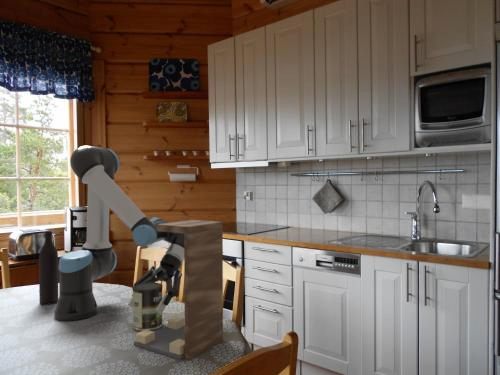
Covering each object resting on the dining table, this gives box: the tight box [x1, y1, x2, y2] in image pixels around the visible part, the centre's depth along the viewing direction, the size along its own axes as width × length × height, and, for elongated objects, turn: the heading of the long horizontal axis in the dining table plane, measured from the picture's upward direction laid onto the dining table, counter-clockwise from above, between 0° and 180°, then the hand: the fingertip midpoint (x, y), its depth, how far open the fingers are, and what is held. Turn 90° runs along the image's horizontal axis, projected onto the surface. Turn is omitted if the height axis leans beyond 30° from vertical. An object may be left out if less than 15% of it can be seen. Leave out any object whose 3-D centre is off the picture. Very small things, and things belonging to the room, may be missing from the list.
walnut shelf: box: [156, 219, 224, 360], centre depth 123 cm, size 13×16×38 cm
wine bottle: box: [38, 230, 59, 305], centre depth 165 cm, size 7×7×30 cm
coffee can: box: [132, 282, 164, 332], centre depth 139 cm, size 10×10×14 cm
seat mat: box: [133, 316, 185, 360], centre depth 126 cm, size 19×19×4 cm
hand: (143, 309), depth 137 cm, fingers open, 13 cm apart
